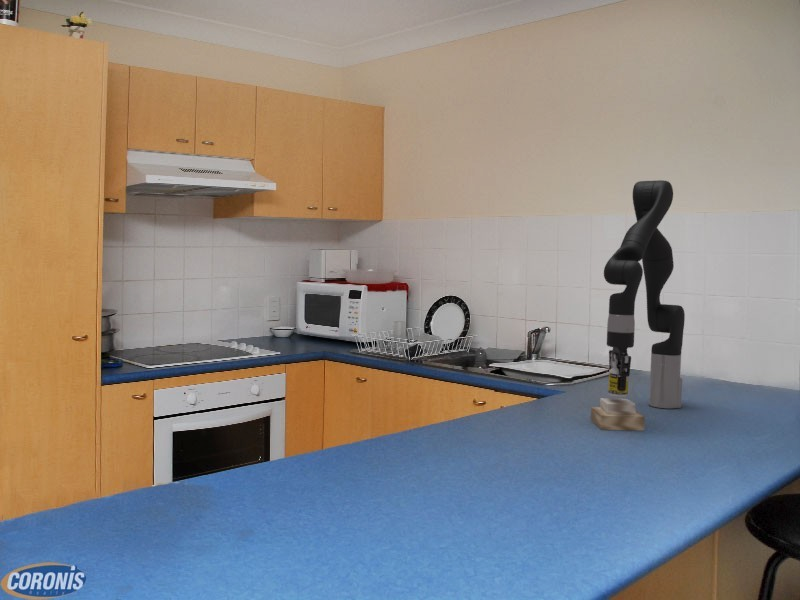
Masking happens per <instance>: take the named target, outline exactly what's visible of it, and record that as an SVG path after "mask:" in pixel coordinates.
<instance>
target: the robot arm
mask: <svg viewBox="0 0 800 600" xmlns="http://www.w3.org/2000/svg"><path fill="white" fill-rule="evenodd" d="M673 189H674V188H673V185H672V184H671V182H670V181H668V180H661V179H660V180H639V181H637V182H635V184H634V185H633V188H632V205H633V209H634V214H635V219H636V222H635V223H634V224H632V225H631V226H630V227H629V229H628V230H627V231H626V233H625V235H624V237H623V239H622V241H621V244H620V247H619V248H618V249H617V250H616V251H615V252H614V254H612V255H611V256H610V258H608V261H607V262H606V264H605V266H604V268H603V278H604V280H605V282H606V283H608V284H610V285H614V286H615V285H619V286H625V289H624V290H623V291H621V292H616V293H613V294H610V296H609V299H608V300H609V303H608V305H609V306H608V318H607V323H606V324H607V327H606V345H607V347H610V348H612V349H609V351H608V362H609V363H608V364H609V365H608V366H609V367H608V369H609V371H610V369H612V368H613V366H612V361H615V369H616V370H617V373H618V383H617V389H618V390H619V391H625V390H626V378H627V376H629V377H630V375H631V374H630V372H631V364H632V356H630V355H629V354H628V349H632V348H633V347H634V345H635V325H636V322H635V321H636V320H635V305H636V303H635V302H636V298H637V294H638V291H639V287H640V284H641V282H642V278H643V274H644V283H645V289H646V291H645V293H646V313H647V314H646V317H647V323H648V324H647V325H648V328H649V329H650V330H651V331H652V332H655V333H662V334H663V333H664V334H665V333H666V334H669V336H668V338H666V339H665V340H663V341H660V342H655V343H653V344H652V345H651V349H650V351H651V354H650V355H651V357H650V375H649V396H648V405H649V406H651V407H652V408H653V407H654V408H660V409H682V395H683V393H682V392H683V379H682V378H681V367H682V366H681V364H682V350H683V342H684V341H683V338H684V329H685V328H684V327H685V319H686V317H685V316H686V315H685V309H684V308H683V306H682V305H679V304H663V303H661V301H660V300H661V299H660V298H661V292H662V290H663V288H664V287H665V285H666V284H667V282H668V280H669V278H670V277H671V275H672V274H673V273H672V272H673V270H674V264H675V263H674V256H673V248H672V245H671V244H670V242H669V241H668V239H667V238H666V237H665V236H664V234H663V233H662V231H660V230H659V228H658V226H659V225H660V223H661V222H662V221H663V220H664V218H665V216H666V215H667V213H668V212H669V210H670V207H671V205H672V204H673V199H674V190H673ZM640 261H642V265H641V263H640ZM619 365H620V366H619ZM623 370H624V372H623Z"/></svg>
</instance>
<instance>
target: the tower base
mask: <svg viewBox="0 0 800 600" xmlns="http://www.w3.org/2000/svg"><path fill="white" fill-rule="evenodd" d="M636 405H637V404H636V403H635V402H633V401H631V400H629V399H628V398H607V397H606V398H602V397H601V398H599V406H591V407H590V421H591V422H592V424H594V425H595V426H596V427H598V428H599V429H600V430H602V431H643V432H644V431H645V422H646V421H645V419H646V418H645V416H644V415H643V414H642V413H641V412H639V411H637V410H636V408H637V406H636Z"/></svg>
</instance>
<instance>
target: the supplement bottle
mask: <svg viewBox="0 0 800 600" xmlns="http://www.w3.org/2000/svg"><path fill="white" fill-rule="evenodd" d="M612 366H613V368H612V369H610V370H609V372H608V393H607V394H608V395H609V396H612V397H618V398H619V397H621V398H622V397H623V398H624V397H628V392H629V377H630V375H629V376H627V378H626V390H625V391H619V390H618V389H617V383H618V373H617V370H616V369H615V361H612ZM619 366H620V365H619ZM623 372H624V370H623Z"/></svg>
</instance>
